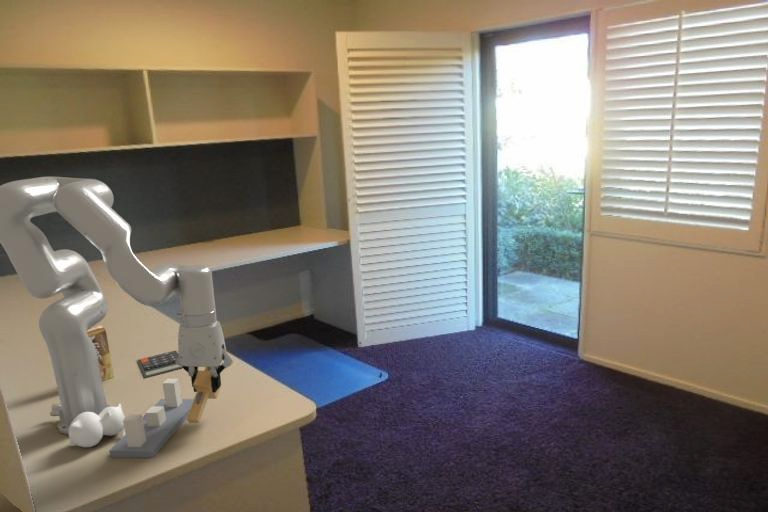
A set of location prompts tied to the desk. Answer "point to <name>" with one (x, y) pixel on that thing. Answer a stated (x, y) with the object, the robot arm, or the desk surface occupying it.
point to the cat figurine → (96, 426)
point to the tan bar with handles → (201, 394)
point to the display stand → (153, 424)
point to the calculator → (159, 364)
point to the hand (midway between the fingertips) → (207, 388)
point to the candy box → (102, 351)
